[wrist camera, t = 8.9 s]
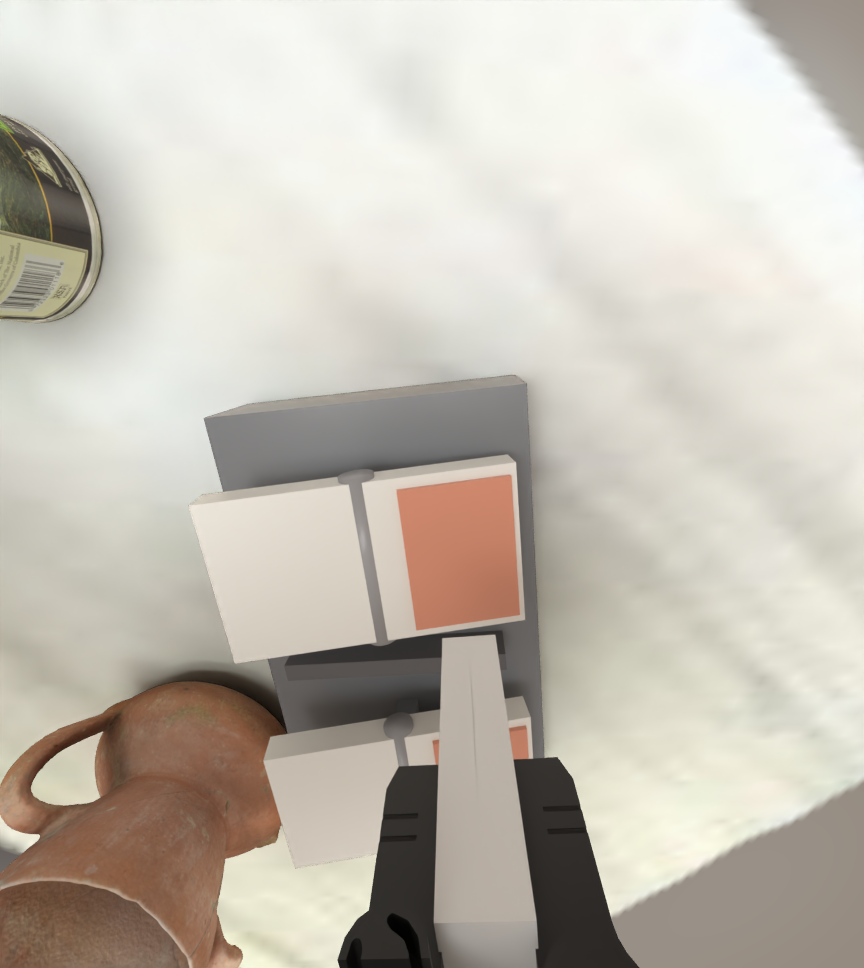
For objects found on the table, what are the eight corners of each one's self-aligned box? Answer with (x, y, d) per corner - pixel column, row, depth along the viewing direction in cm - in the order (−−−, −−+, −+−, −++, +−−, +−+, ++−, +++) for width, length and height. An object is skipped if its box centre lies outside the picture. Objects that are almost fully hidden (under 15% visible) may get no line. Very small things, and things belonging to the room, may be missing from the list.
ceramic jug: (357, 763, 36) (294, 1015, 22) (234, 838, 39) (115, 1097, 26) (192, 604, 33) (1, 786, 19) (73, 700, 36) (-162, 914, 22)
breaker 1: (245, 646, 23) (234, 670, 21) (201, 490, 20) (184, 503, 19) (516, 606, 24) (526, 626, 22) (506, 450, 21) (517, 459, 19)
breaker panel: (330, 757, 36) (301, 852, 29) (248, 403, 27) (180, 425, 21) (535, 750, 35) (553, 848, 28) (514, 374, 26) (533, 388, 19)
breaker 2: (300, 842, 27) (294, 876, 25) (269, 733, 25) (261, 762, 23) (529, 802, 28) (538, 832, 26) (522, 692, 25) (532, 717, 24)
